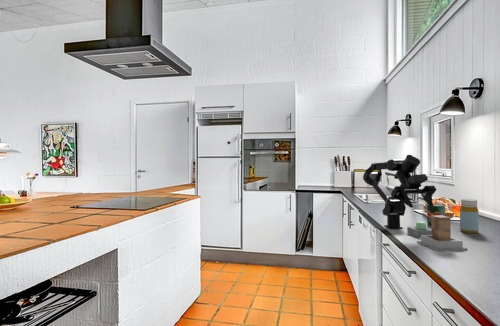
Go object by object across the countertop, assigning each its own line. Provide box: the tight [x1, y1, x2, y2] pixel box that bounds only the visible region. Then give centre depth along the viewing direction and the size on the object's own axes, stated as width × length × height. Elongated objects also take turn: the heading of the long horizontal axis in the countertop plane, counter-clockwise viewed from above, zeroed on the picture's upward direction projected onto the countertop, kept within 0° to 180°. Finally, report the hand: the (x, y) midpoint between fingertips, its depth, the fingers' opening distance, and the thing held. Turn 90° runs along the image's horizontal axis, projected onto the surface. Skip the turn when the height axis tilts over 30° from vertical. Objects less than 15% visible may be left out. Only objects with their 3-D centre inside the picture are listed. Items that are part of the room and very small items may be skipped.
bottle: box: [459, 198, 480, 234], centre depth 141 cm, size 7×7×15 cm
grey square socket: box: [416, 235, 468, 252], centre depth 119 cm, size 12×12×3 cm
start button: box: [415, 221, 427, 230], centre depth 136 cm, size 4×4×5 cm
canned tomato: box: [426, 203, 446, 228], centre depth 154 cm, size 8×8×11 cm
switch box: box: [406, 226, 432, 239], centre depth 136 cm, size 8×8×3 cm
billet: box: [431, 215, 452, 241], centre depth 118 cm, size 4×4×11 cm
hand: (422, 206), depth 130 cm, fingers open, 9 cm apart
